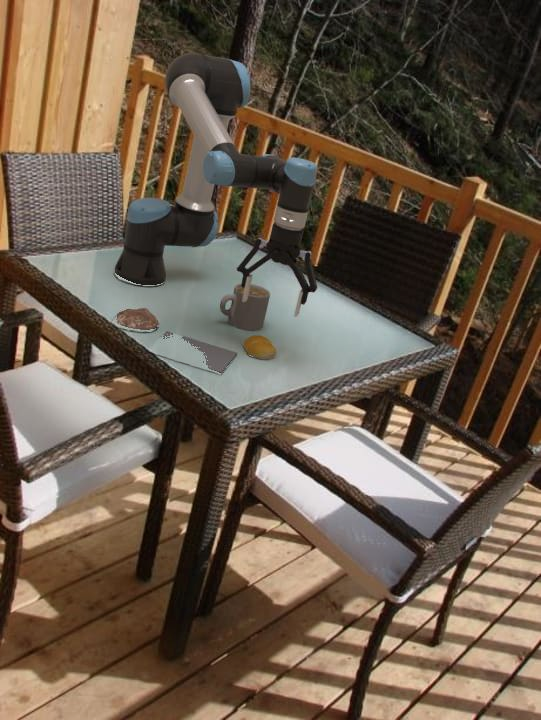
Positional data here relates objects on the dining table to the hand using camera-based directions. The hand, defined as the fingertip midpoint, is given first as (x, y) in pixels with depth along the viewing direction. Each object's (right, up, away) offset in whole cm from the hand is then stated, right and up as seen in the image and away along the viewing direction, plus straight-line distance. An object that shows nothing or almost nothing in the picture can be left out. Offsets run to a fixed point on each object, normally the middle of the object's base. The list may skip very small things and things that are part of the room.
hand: (270, 307), depth 179 cm
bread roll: (-3, -11, +6) cm, 13 cm away
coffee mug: (-9, -3, +20) cm, 22 cm away
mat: (-19, -12, -4) cm, 23 cm away
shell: (-35, -4, +6) cm, 35 cm away
